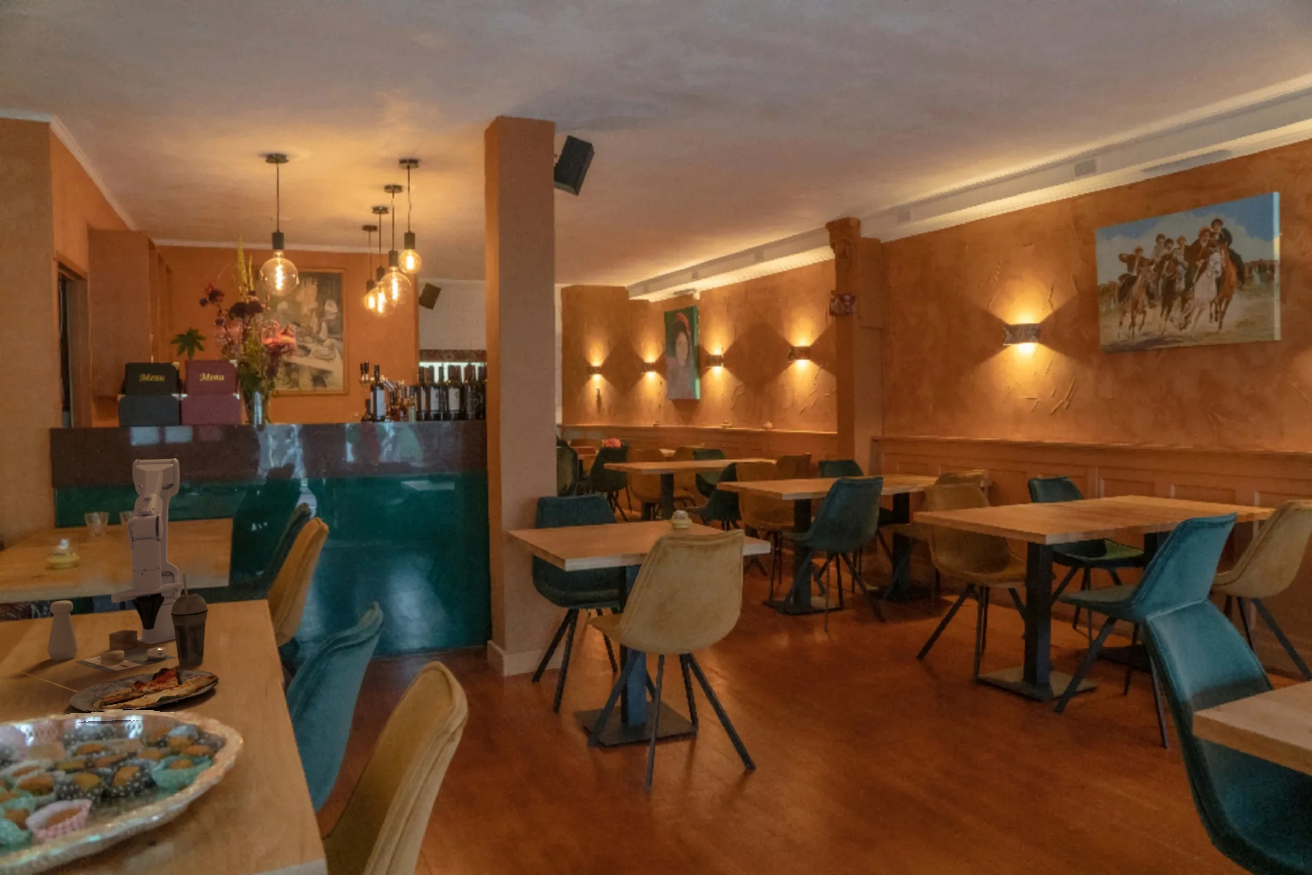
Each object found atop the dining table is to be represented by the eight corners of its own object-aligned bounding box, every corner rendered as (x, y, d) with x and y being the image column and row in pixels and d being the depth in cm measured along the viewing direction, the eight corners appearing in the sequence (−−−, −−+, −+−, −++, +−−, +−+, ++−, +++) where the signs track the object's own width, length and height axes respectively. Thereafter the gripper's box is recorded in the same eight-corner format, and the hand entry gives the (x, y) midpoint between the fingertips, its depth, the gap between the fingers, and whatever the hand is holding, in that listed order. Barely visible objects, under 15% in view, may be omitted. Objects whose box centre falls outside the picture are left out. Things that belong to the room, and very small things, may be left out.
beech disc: (118, 658, 204) (117, 649, 203) (128, 660, 201) (127, 651, 201) (96, 662, 200) (96, 653, 200) (107, 665, 197) (106, 656, 197)
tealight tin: (152, 656, 205) (152, 646, 205) (170, 656, 205) (170, 646, 205) (143, 660, 201) (143, 650, 201) (161, 660, 201) (161, 650, 201)
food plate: (187, 672, 192) (186, 655, 192) (241, 693, 178) (240, 675, 178) (51, 706, 173) (50, 687, 173) (99, 733, 158) (98, 713, 158)
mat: (141, 649, 213) (141, 647, 213) (176, 658, 204) (176, 656, 204) (75, 663, 202) (75, 661, 202) (109, 673, 192) (109, 671, 192)
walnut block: (123, 646, 216) (123, 629, 216) (137, 647, 215) (137, 630, 215) (109, 650, 212) (109, 633, 212) (123, 651, 211) (123, 634, 211)
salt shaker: (63, 663, 202) (61, 604, 201) (41, 662, 203) (39, 603, 203) (84, 656, 207) (82, 599, 207) (63, 655, 209) (61, 598, 208)
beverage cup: (217, 661, 201) (214, 570, 200) (190, 670, 194) (187, 576, 193) (191, 659, 203) (188, 569, 203) (164, 668, 196) (161, 575, 196)
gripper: (121, 575, 198) (123, 638, 199) (188, 565, 210) (189, 624, 211) (106, 572, 202) (108, 633, 203) (172, 562, 214) (174, 620, 215)
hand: (148, 628), depth 207 cm, fingers closed
